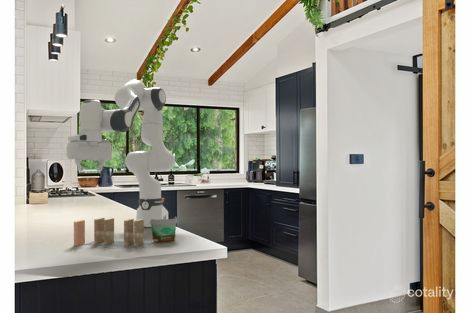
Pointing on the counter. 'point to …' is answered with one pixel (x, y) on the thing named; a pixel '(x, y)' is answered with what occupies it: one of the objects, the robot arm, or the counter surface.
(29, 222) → the counter surface
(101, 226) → the maple domino
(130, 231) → the maple domino
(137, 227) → the maple domino
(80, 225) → the terracotta domino
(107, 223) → the maple domino
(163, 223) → the food container
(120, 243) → the flat board
